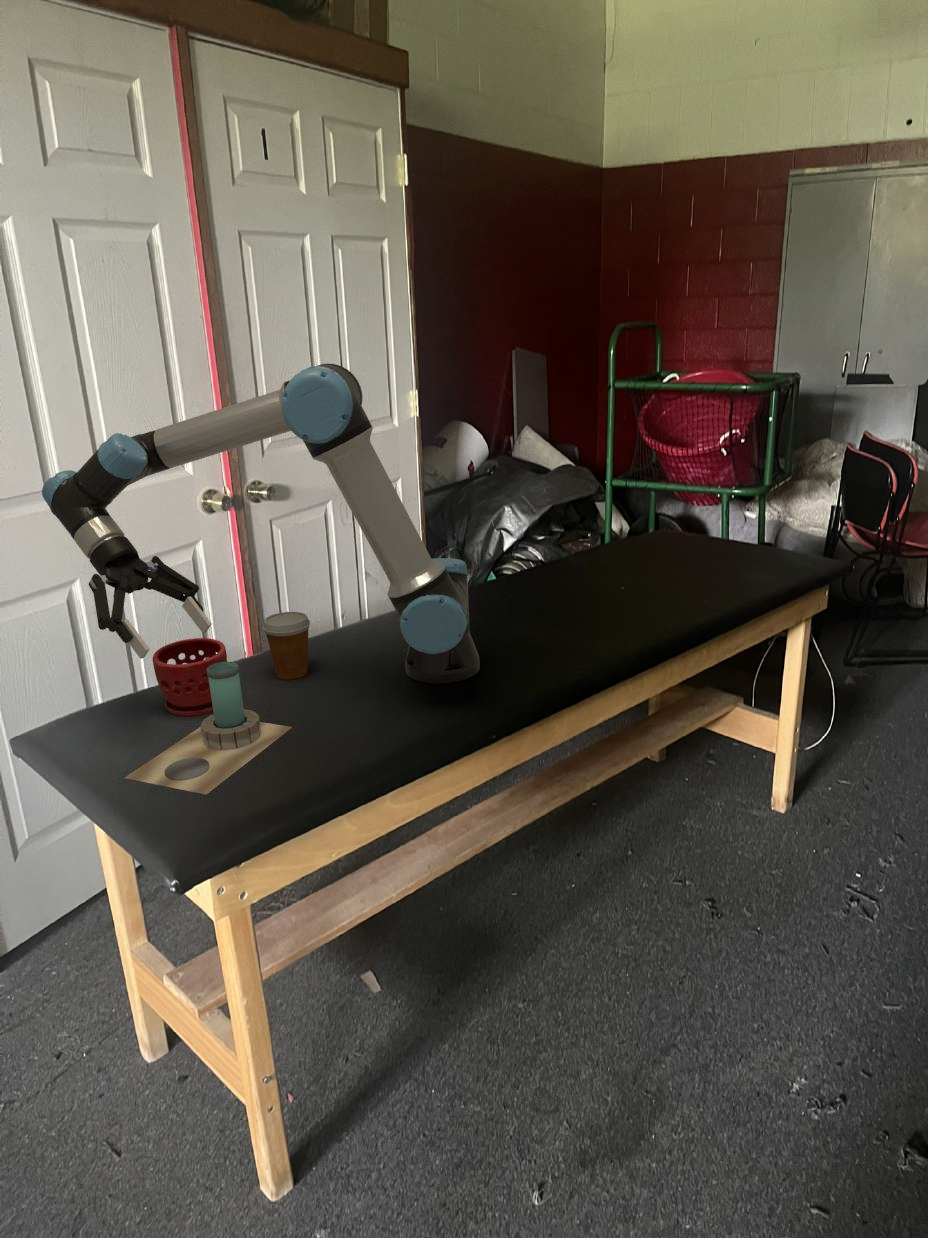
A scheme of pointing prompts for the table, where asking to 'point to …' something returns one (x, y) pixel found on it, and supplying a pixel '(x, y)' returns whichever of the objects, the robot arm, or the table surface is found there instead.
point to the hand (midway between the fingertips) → (177, 641)
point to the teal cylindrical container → (226, 694)
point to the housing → (209, 754)
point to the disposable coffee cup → (288, 643)
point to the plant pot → (187, 674)
